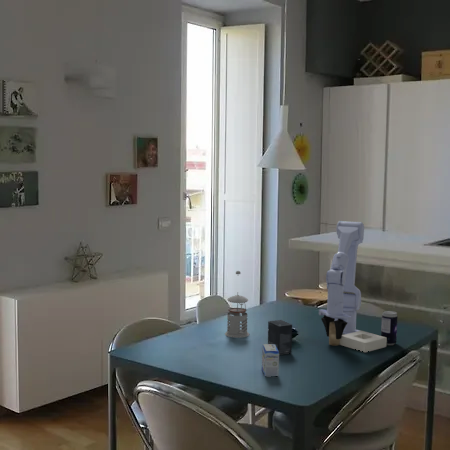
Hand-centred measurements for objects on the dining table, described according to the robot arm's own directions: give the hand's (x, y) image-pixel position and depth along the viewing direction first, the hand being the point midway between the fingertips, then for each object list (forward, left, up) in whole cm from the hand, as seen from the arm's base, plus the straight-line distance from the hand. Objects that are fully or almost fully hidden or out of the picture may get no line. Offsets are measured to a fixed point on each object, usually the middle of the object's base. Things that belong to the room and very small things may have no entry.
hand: (333, 337), depth 260 cm
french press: (-32, -20, -3) cm, 38 cm away
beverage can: (+12, +17, -3) cm, 21 cm away
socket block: (+8, +7, -3) cm, 11 cm away
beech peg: (0, 0, -3) cm, 3 cm away
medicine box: (+11, -42, -3) cm, 43 cm away
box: (-5, -23, -3) cm, 24 cm away
